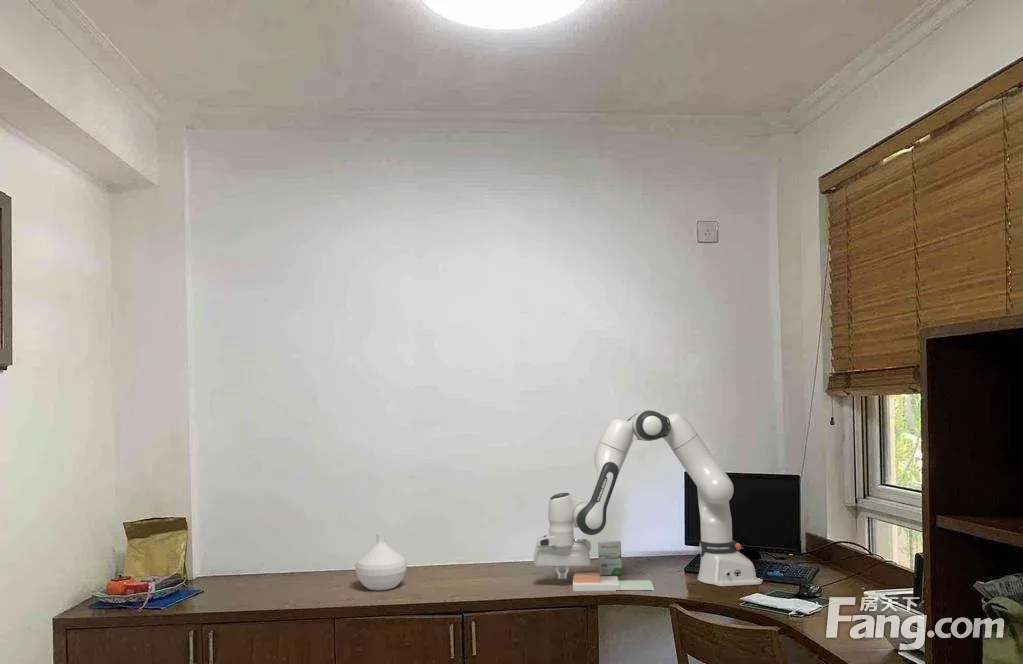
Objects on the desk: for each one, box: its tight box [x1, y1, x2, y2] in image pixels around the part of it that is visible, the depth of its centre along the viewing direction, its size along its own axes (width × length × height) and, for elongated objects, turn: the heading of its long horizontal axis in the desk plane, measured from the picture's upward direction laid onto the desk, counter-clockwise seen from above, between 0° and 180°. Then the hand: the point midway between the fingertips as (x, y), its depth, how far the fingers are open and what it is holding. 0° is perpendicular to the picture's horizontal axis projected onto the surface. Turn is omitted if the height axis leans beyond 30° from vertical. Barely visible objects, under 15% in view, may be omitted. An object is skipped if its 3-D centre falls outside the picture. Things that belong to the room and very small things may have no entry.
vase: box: [354, 532, 408, 591], centre depth 313 cm, size 18×18×19 cm
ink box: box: [597, 540, 623, 576], centre depth 326 cm, size 9×5×12 cm, turn 84°
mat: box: [618, 579, 655, 592], centre depth 306 cm, size 12×13×1 cm
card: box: [573, 572, 601, 583], centre depth 307 cm, size 9×6×2 cm, turn 86°
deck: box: [572, 575, 619, 592], centre depth 307 cm, size 16×13×2 cm
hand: (562, 578), depth 308 cm, fingers closed
